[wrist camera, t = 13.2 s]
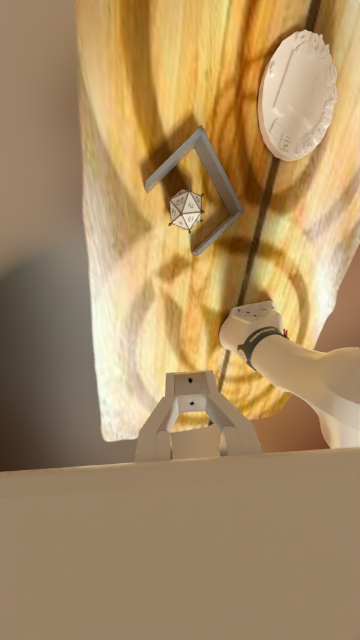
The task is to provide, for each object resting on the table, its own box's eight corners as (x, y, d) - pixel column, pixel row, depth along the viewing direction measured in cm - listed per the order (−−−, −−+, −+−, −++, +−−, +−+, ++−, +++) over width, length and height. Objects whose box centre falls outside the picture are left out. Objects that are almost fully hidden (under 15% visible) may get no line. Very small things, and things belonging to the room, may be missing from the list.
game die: (173, 225, 43) (161, 237, 36) (171, 184, 37) (156, 188, 30) (207, 226, 41) (201, 238, 34) (210, 182, 35) (204, 186, 28)
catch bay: (193, 255, 43) (198, 255, 40) (144, 188, 36) (145, 180, 32) (235, 215, 43) (244, 211, 39) (194, 139, 35) (201, 125, 31)
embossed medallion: (300, 13, 33) (314, -9, 30) (337, 111, 41) (351, 100, 38) (238, 107, 36) (247, 95, 33) (284, 182, 43) (294, 177, 41)
